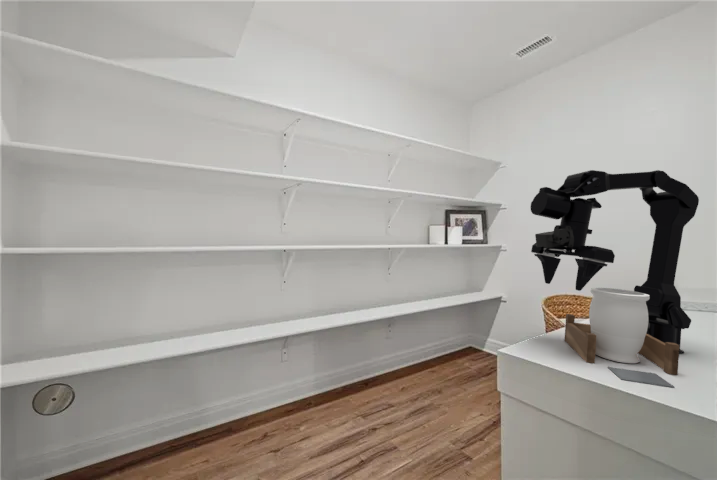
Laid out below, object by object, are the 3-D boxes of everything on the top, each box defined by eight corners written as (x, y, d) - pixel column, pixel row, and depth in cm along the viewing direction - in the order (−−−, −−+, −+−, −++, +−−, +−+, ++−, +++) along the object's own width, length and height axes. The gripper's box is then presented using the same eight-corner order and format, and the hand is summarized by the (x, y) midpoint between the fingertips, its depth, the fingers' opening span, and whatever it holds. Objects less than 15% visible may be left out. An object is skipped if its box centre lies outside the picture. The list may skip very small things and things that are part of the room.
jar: (658, 369, 67) (662, 297, 66) (602, 362, 69) (606, 293, 68) (626, 351, 77) (630, 289, 77) (578, 346, 79) (582, 285, 79)
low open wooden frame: (637, 349, 78) (638, 321, 78) (677, 375, 64) (679, 340, 64) (564, 340, 83) (566, 313, 83) (586, 362, 69) (588, 329, 68)
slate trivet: (655, 374, 64) (655, 373, 64) (674, 387, 58) (674, 386, 58) (607, 367, 66) (607, 366, 66) (621, 379, 60) (621, 378, 60)
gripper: (519, 217, 85) (507, 275, 85) (579, 215, 67) (564, 288, 67) (555, 226, 87) (544, 282, 87) (623, 225, 69) (608, 297, 69)
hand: (561, 286), depth 77 cm, fingers open, 9 cm apart
